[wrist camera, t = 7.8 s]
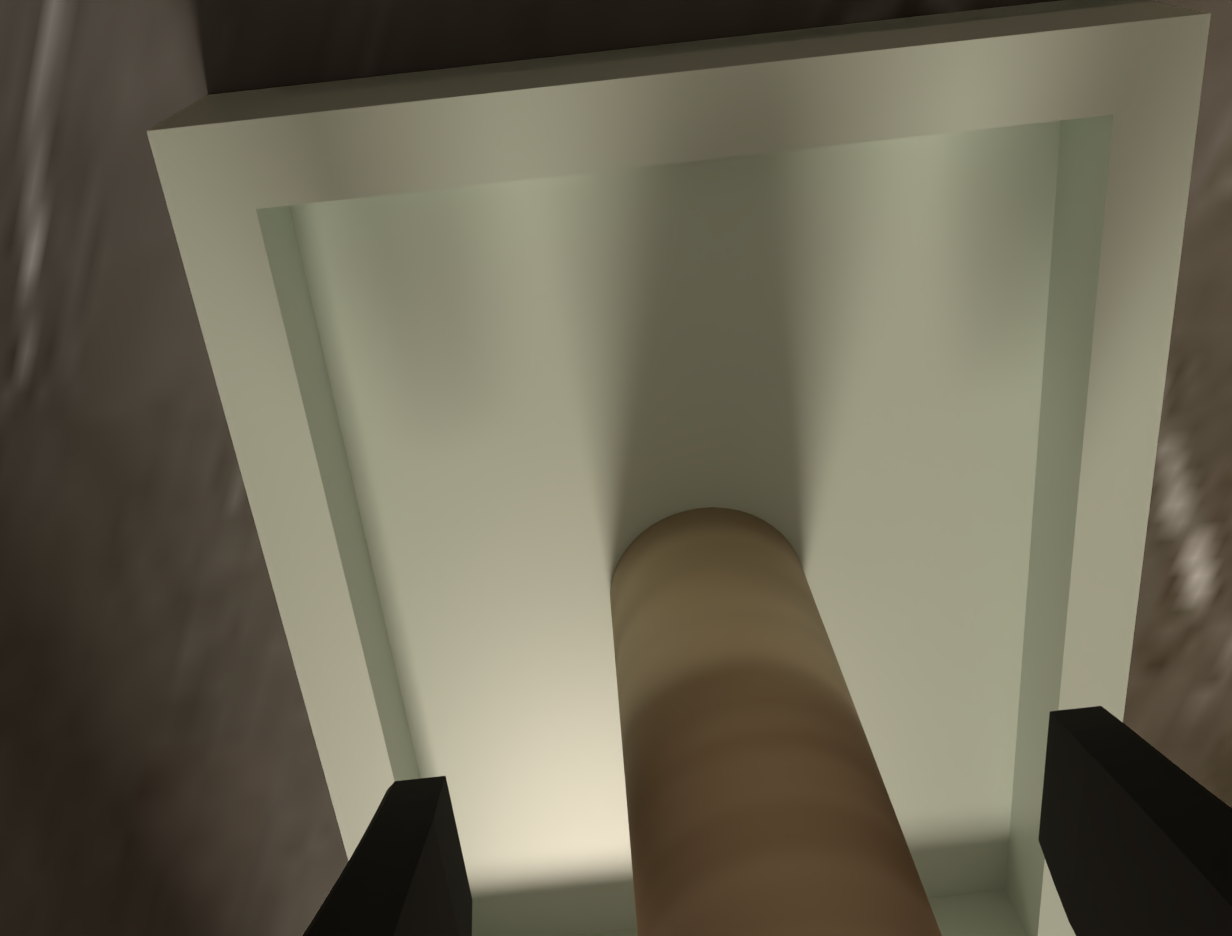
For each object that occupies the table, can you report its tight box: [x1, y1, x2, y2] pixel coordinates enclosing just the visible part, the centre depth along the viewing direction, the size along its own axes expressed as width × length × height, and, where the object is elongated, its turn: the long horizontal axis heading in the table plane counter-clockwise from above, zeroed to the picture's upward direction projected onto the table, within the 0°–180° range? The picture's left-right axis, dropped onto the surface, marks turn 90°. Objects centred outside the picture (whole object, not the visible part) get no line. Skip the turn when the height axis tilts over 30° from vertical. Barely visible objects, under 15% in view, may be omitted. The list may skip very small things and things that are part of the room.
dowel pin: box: [610, 507, 942, 936], centre depth 14 cm, size 3×3×8 cm
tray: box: [147, 0, 1211, 936], centre depth 18 cm, size 16×12×2 cm
